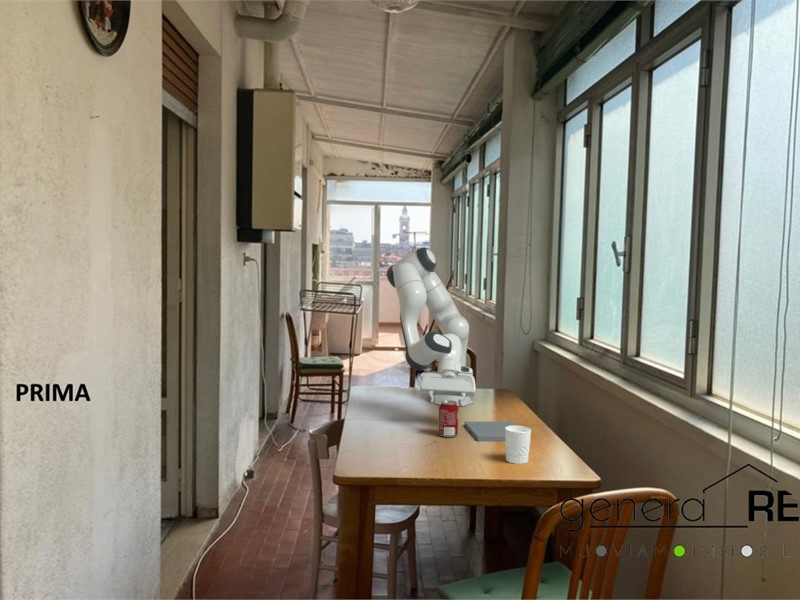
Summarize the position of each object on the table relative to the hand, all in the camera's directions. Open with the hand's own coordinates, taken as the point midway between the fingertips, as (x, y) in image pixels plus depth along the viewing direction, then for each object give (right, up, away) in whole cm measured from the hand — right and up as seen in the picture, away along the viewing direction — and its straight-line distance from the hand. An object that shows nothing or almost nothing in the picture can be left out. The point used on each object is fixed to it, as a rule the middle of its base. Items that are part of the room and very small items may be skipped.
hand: (446, 404), depth 218 cm
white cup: (+20, -13, -29) cm, 37 cm away
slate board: (+18, -11, +2) cm, 21 cm away
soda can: (0, -11, -4) cm, 11 cm away
